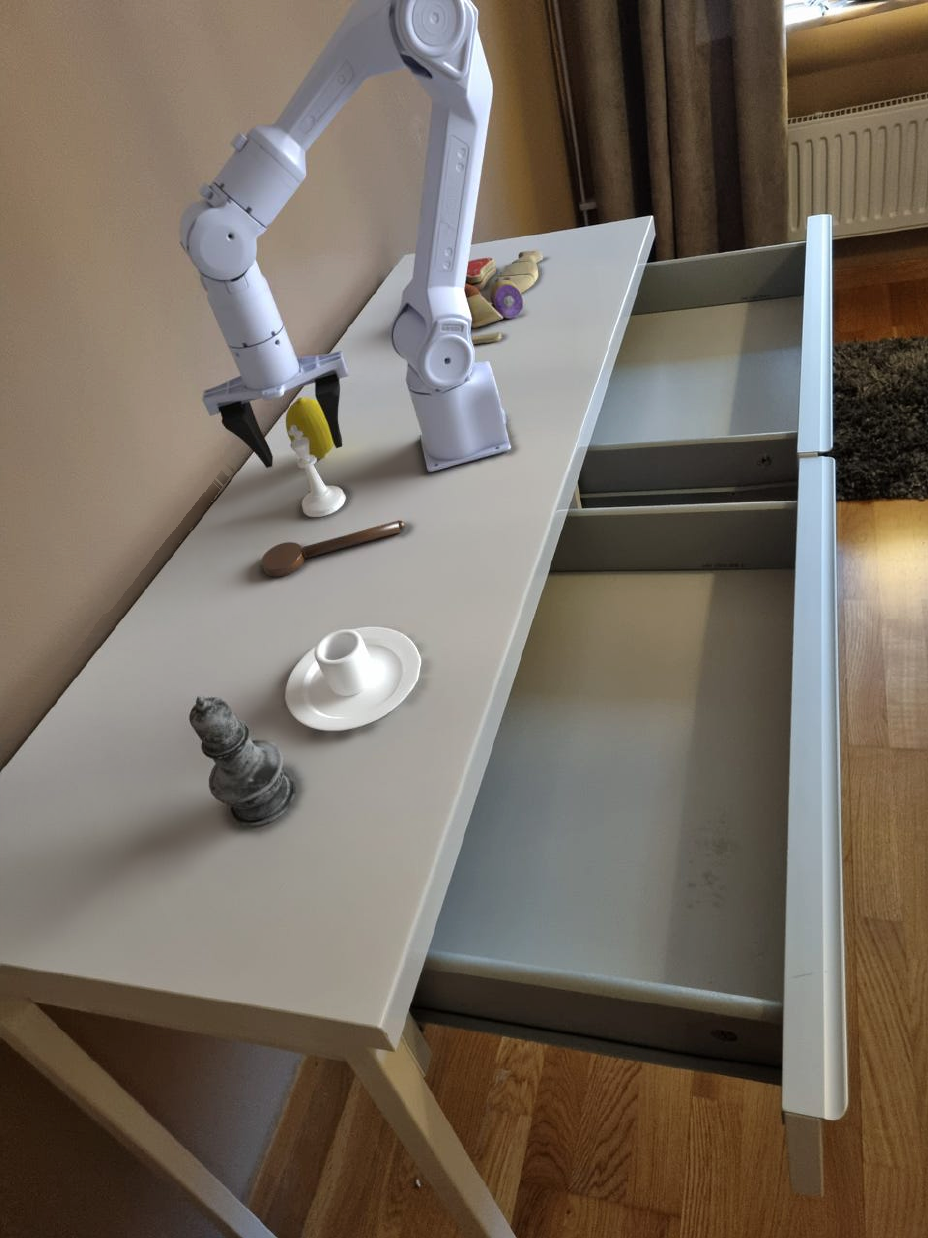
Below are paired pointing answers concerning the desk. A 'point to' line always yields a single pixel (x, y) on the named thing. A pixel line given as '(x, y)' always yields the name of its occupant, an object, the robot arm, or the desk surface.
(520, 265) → the toy food set
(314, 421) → the lemon
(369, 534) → the spoon
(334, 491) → the chess piece
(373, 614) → the desk surface
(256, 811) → the dark grey turned piece
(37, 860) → the desk surface
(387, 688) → the candle holder
